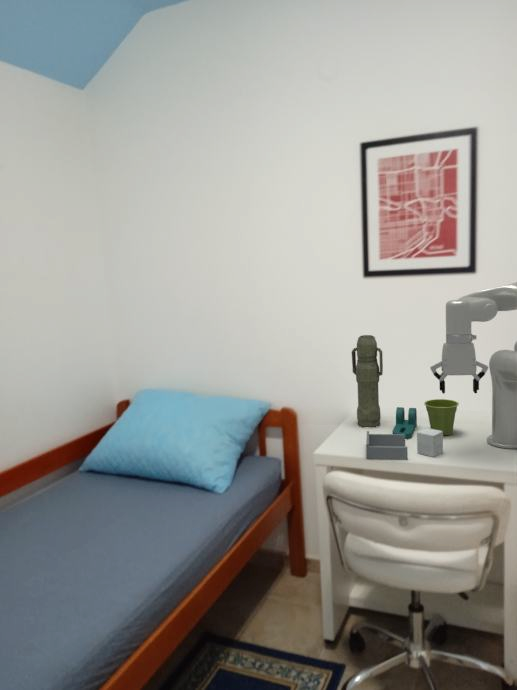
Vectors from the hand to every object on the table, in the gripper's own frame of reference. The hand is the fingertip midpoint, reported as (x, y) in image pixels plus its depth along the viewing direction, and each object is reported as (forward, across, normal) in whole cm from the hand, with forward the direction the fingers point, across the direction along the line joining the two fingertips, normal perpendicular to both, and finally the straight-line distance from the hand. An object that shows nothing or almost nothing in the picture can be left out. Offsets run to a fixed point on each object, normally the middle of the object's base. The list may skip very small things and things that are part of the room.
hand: (459, 392), depth 173 cm
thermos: (+20, +30, -31) cm, 47 cm away
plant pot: (+20, +3, -21) cm, 29 cm away
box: (+20, +23, 0) cm, 30 cm away
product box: (+20, +9, 0) cm, 22 cm away
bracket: (+21, +16, -22) cm, 34 cm away
